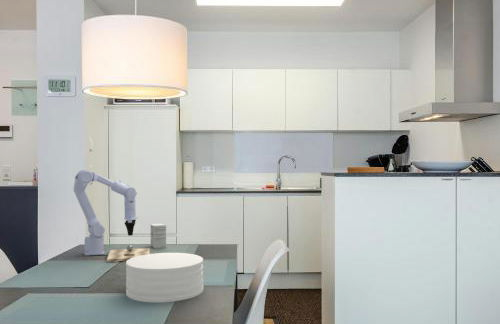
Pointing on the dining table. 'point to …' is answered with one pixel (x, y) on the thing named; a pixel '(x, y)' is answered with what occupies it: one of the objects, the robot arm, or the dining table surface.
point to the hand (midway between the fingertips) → (130, 234)
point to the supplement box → (158, 235)
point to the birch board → (126, 254)
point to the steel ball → (129, 248)
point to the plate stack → (164, 277)
